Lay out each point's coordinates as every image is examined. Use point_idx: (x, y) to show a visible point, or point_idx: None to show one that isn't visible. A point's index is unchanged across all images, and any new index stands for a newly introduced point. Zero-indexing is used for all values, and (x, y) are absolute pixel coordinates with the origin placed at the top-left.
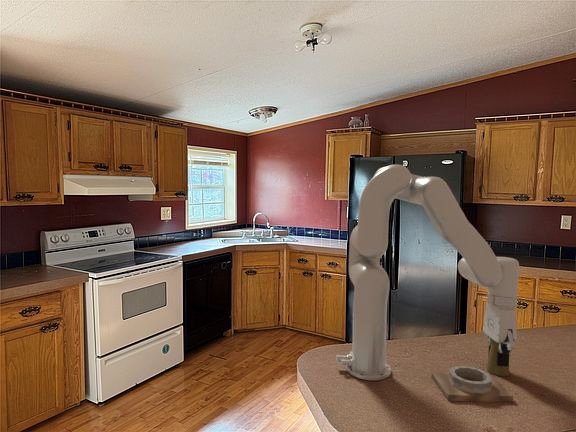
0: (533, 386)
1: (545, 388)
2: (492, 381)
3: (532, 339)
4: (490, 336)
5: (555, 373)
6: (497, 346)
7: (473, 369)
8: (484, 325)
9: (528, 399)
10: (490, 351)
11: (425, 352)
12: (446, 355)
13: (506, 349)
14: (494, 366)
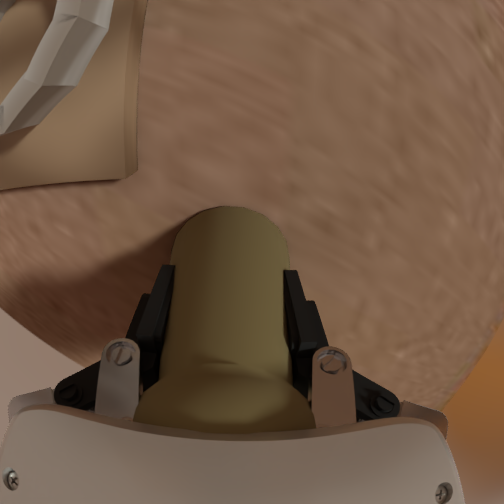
0: (106, 320)
1: (104, 343)
2: (42, 155)
3: None
4: (200, 454)
5: None
6: (159, 380)
7: (37, 53)
8: (428, 500)
9: (14, 249)
10: (238, 302)
11: (468, 21)
12: (446, 91)
13: (57, 387)
14: (182, 247)
